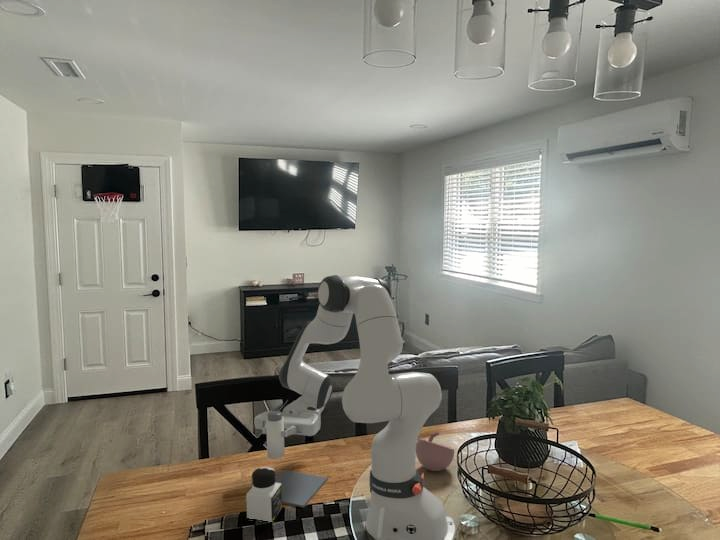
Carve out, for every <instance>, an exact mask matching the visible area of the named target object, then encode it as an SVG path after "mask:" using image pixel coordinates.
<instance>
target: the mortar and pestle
mask: <svg viewBox="0 0 720 540" xmlns="http://www.w3.org/2000/svg"><path fill="white" fill-rule="evenodd" d="M439 435H440V433H439V432H438V431H436V432H432V433H430V435H429V438H428V440H426V439H422V438H419V437H418V439H417V444H416V458H417V461H418V462H419V463H420V465H422V467H424V468H425V469H427V470H429V471H432V472H441V471H443V470H445V469H447V468H449V466H450V465H451V463H452V462H453V460H454V457H455V449H454V448H452V447H450V446H448V445H446V444H444V443H439V442H433V439H434V438H435V437H436V436H439Z"/></svg>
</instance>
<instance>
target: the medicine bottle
mask: <svg viewBox="0 0 720 540" xmlns="http://www.w3.org/2000/svg"><path fill="white" fill-rule="evenodd" d="M251 475H252V476H251V478H252V479H251V483H252V484H251V485H252V486H251V488H250V489H249V491H247V493H246V499H245V500H246V519H247V518H249V519H258V520H263V521H268V522H267V523H270V522H272V523H273V522H274V521H275V519H276V518H277V516H278V515H279V513H280V511H281V510H282V508H283V503H282V491H281V483H276V479H275V478H276V470H275V469H274V468H273V467H270V466H269V467H268V466H262V467H259V468H257V469H255V470H254V471H253V472H252V474H251ZM276 515H277V516H276ZM275 517H276V518H275ZM273 520H274V521H273Z"/></svg>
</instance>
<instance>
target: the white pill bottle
mask: <svg viewBox="0 0 720 540" xmlns="http://www.w3.org/2000/svg"><path fill="white" fill-rule="evenodd" d="M271 411H272V412H269V413H268V418H267V419H266V426H267V434H266V453H267V456H266V457H267V458H268V459H270V460H273V459H274V460H276V459H282V458H283V457H284V456H285V437H282V433H281V432H282V430H283V429H284V418H283V417H282V411H278V410H275V411H274V410H271Z"/></svg>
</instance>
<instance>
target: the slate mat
mask: <svg viewBox="0 0 720 540" xmlns="http://www.w3.org/2000/svg"><path fill="white" fill-rule="evenodd" d="M275 479H276V483H281V491H282V505H289V506H293V507H297V508H298V507H299V508H305V507H306V506H307V505H308V504H309V502H310V501H311V500H312V499H313V497H314V496H316V494H317V493H318V491H319V490H320V489H321V488H322V487H323V486H324V484H325V483H326V482H327V481H328V480H329V479H328V477H325V476H321V475H314V474H308V473H305V472H304V473H303V472H299V471H298V472H297V471H293V470H287V469H283V470H282V471H281V472H280V473H279V474H278V475H276V476H275Z"/></svg>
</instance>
